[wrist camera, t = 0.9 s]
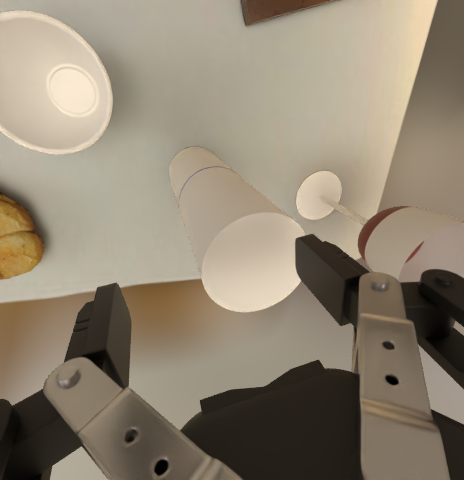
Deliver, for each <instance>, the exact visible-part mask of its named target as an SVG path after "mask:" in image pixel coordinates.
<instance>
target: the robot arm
mask: <svg viewBox="0 0 464 480" xmlns="http://www.w3.org/2000/svg"><path fill="white" fill-rule="evenodd" d="M295 267H296V272H297V274H298V276H299V278H300V279H301V280H302V282H303V283H304V284H305V285H306V286H307V287H308V289H309V290H310V291H311V292H312V293H313V294H314V296H315V297H316V298H317V299H318V300H319V302H320V303H321V304H322V305H323V306H324V307H325V308H326V310H327V311H328V312H329V313H330V314H331V316H332V317H333V318H334V319H335V320H336V321H337V323H338V324H339V325H340V326H343V325H346V324H349V323H351V324H352V325H353V326H354V329H353V349H352V372H350V371H346V370H341V369H329V368H327V369H325V368H324V367H323V365H322V364H321V362H320V361H319V360H316V361H313V362H310V363H307V364H305V365H301V366H299V367H296V368H293V369H290V370H289V371H288V372H286V373H284V374H283V375H282V376H280V377H279V378H277V379H276V380H274V381H273V382H271V383H270V384H268V385H266V386H264V387H256V388H245V389H233V390H228V391H226V392H223V393H220V394H217V395H214V396H211V397H208V398H205V399H202V400H200V404H201V410H202V411H201V412H199V413H198V414H196V415H195V416H194V417H193V418H192V419H191V420H189V421H188V422H187V423H186V425H185V426H184V427H183V428H182V429H181V430H180V431H179V430H178V429H177V428H176V427H175V426H174V425H172V424H171V423H170V422H169V421H168V420H167V419H165V418H164V417H163V416H162V415H161V414H160V413H158V412H157V411H156V410H155V409H154V408H153V407H152V406H150V405H149V404H148V403H147V402H146V401H145V400H143V399H142V398H141V397H140V396H139V395H138V394H136V393H135V392H134V391H133V390H132V389H130V388H129V387H128V386H129V364H130V343H131V318H130V313H129V310H128V307H127V305H126V302H125V300H124V297H123V295H122V292H121V290H120V287H119V285H118V284H117V283H113V284H109V285H105V286H101V287H98V288H97V290H96V295H95V299H94V301H91V302H88V303H86V304H85V305H84V306H83V308H82V309H81V310H80V312H79V313H78V316H77V319H76V322H75V323H76V325H75V326H74V329H73V333H72V336H71V340H70V343H69V347H68V350H67V354H66V357H65V360H64V363H63V364H61V365H60V366H58V367H57V368H56V369H55V370H54V371H52V373H51V374H50V375H49V376H48V378H47V379H46V381H45V383H44V386H43V389H42V390H40V391H39V392H37V393H35V394H33V395H31V396H30V397H28V398H26V399H24V400H22V401H20V402H19V403H17V404H15V405H13V406H12V405H11V404H10V402H9V401H7V400H5V399H0V480H50V475H51V469H52V466H53V465H54V464H56V463H57V462H59V461H60V460H62V459H63V458H65V457H66V456H68V455H69V454H71V453H72V452H74V451H75V450H77V449H78V448H79V447H81V446H82V447H83V448H84V450H85V451H86V452H87V453H88V455H89V456H90V457H91V458H92V460H93V461H94V462H95V464H96V465H97V466H98V467H99V469H100V470H101V471H102V473H103V474H104V475H105V476H106V478H107V479H108V480H464V425H463V424H461V423H459V422H457V421H455V420H453V419H451V418H449V417H446V416H444V415H442V414H440V413H438V412H436V411H434V410H432V409H431V408H430V403H429V398H428V393H427V388H426V383H425V378H424V373H423V368H422V363H421V357H420V353H419V347H418V344H419V345H420V346H421V347H422V348H423V349H424V350H425V351H426V352H427V353H428V354H429V355H430V356H431V357H432V358H433V359H434V360H435V361H436V362H437V363H438V364H439V365H440V366H441V367H442V368H443V369H444V370H445V371H446V372H447V373H448V374H449V375H450V376H451V377H452V378H453V379H454V380H455V381H456V382H457V383H458V384H459V385H460V386H461V387H462V388H463V389H464V336H463V335H462V334H461V333H460V332H458V331H457V330H456V329H455V328H453V326H454V323H455V321H457V322H458V323H459V324H461V325H462V326H463V327H464V278H463V277H461V276H459V275H458V274H456V273H453V272H450V271H447V270H442V269H429V270H426V271H424V272H423V273H422V274H421V278H420V281H419V282H399V281H398V280H397V279H396V278H394V277H393V276H391V275H388V274H385V273H380V272H369V271H368V270H367V269H365V268H364V267H363V266H362V265H360V264H359V263H358V262H356V261H355V260H354V259H353V258H351V257H349V255H347V254H346V253H345V252H343V251H342V250H341V249H340V248H339V247H337V246H336V245H334V244H331V243H328V242H326V241H324V242H322V241H321V240H320V239H318V238H317V237H316V236H315V235H313V234H309V235H305V236H301V237H297V238H296V240H295Z"/></svg>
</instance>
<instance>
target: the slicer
mask: <svg viewBox="0 0 464 480" xmlns="http://www.w3.org/2000/svg"><path fill="white" fill-rule="evenodd" d="M332 1H336V0H241V4H242V9H243V15H244V20H245V25H246V26H247V25H251V24H254V23H258V22H262V21H265V20H269V19H272V18H276V17H279V16H283V15H286V14H290V13H293V12H297V11H301V10H304V9H308V8H311V7H315V6H318V5H322V4H325V3H329V2H332Z"/></svg>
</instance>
